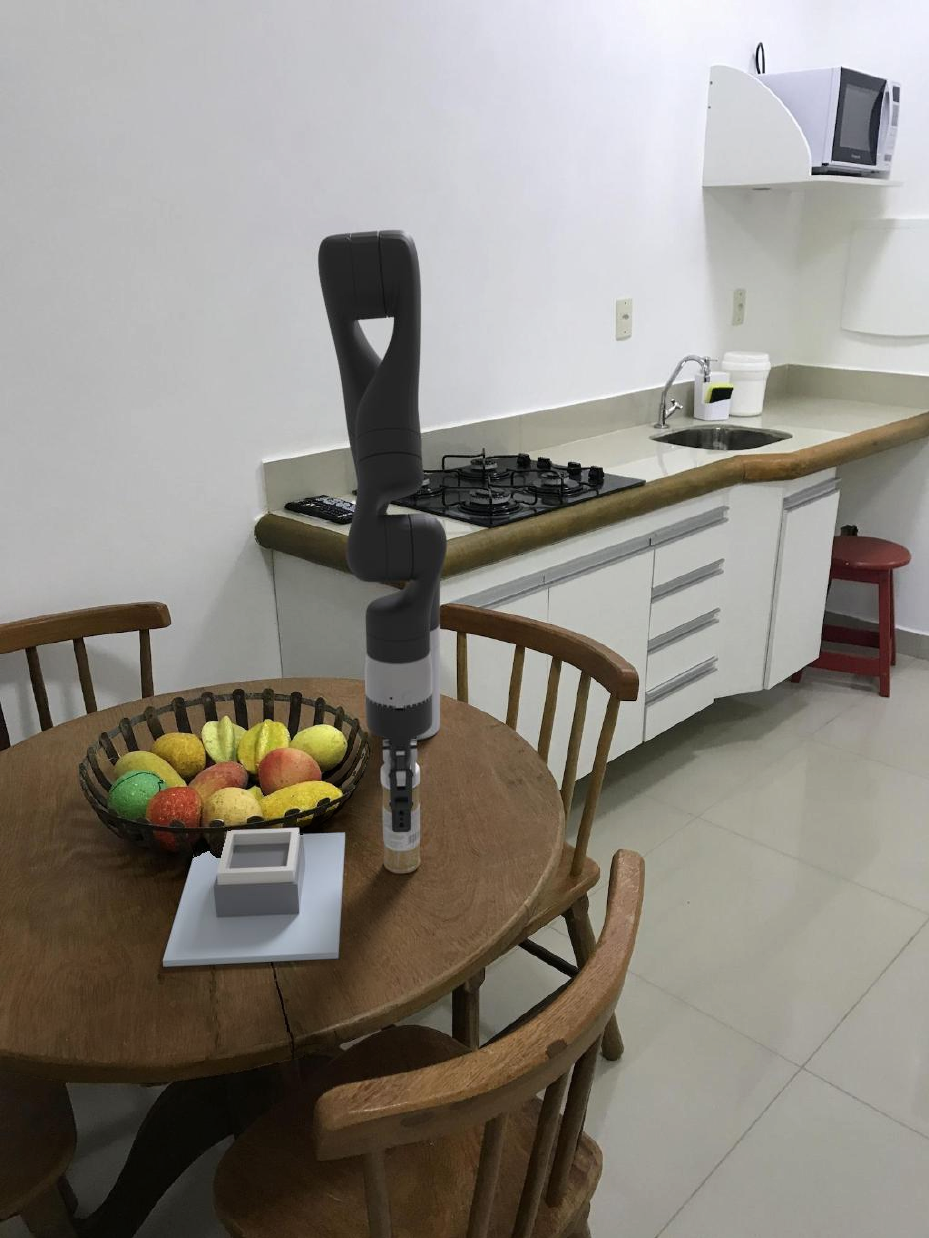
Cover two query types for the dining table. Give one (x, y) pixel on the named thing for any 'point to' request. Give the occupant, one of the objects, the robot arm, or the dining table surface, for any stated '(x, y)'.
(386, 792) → the sprinkles bottle
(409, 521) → the robot arm
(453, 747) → the dining table surface
